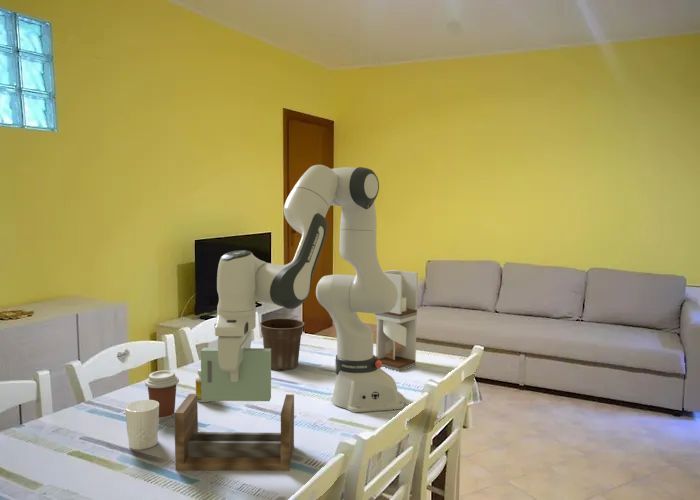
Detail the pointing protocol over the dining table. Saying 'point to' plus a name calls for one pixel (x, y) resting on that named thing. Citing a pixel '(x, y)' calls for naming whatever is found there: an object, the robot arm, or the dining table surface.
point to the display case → (399, 324)
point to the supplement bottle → (199, 386)
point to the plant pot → (282, 341)
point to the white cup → (142, 423)
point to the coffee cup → (163, 391)
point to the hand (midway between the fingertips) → (236, 378)
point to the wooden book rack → (231, 443)
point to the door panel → (251, 377)
